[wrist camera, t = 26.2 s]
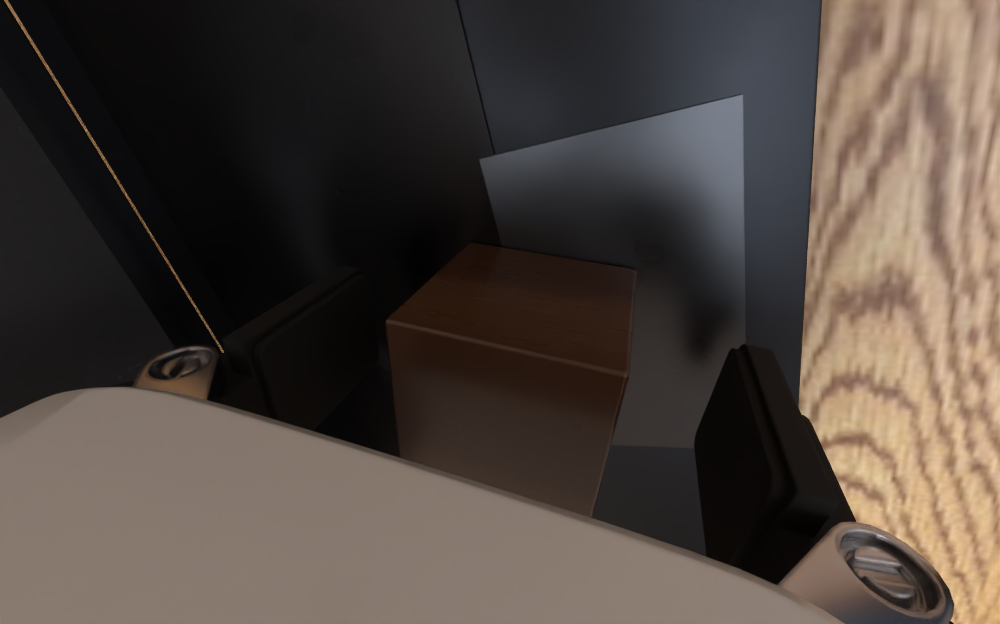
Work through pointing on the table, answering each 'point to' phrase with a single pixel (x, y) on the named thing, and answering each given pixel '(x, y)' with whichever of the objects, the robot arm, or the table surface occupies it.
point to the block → (514, 371)
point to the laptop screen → (71, 250)
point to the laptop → (474, 173)
